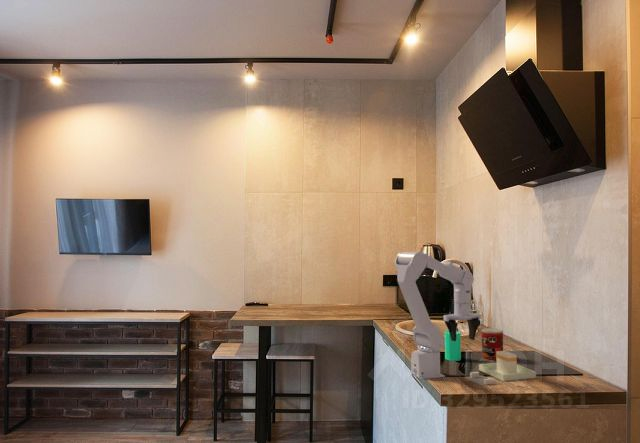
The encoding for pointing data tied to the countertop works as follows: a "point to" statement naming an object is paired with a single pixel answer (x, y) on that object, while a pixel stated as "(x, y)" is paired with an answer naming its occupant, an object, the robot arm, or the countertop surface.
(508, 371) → the block
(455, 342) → the candle
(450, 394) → the countertop surface
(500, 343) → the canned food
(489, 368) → the tray
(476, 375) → the fuse holder
